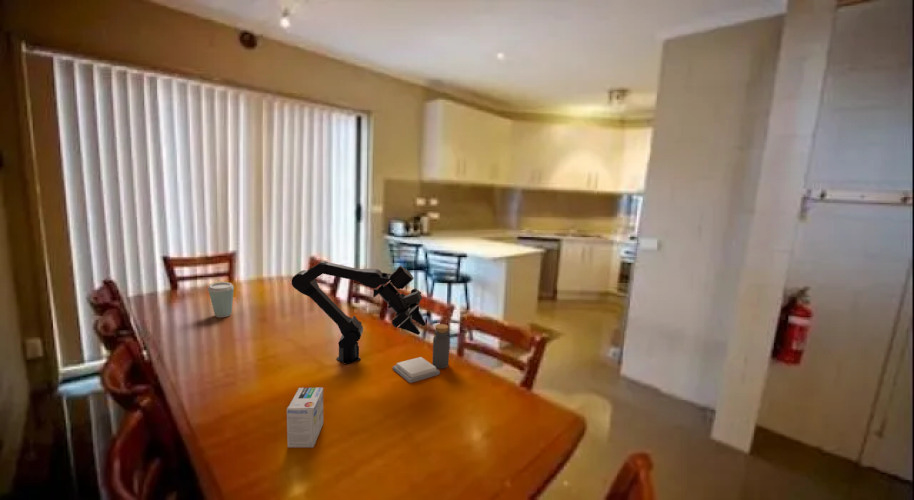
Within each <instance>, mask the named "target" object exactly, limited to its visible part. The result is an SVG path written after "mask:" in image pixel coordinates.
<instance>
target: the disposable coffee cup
mask: <svg viewBox="0 0 914 500" xmlns="http://www.w3.org/2000/svg"><path fill="white" fill-rule="evenodd" d="M234 289H235V287H234V285H233V284H232V283H231V282H227V281H219V282H217V281H216V282H213V283H211V284H209V285H208V287H207V292H208V294H209V298H210V303H211V305H212V309H213V312H214V315H215V317H216V318H227V317H230V316H231V315H232V311H233V301H234Z"/></svg>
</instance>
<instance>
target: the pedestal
mask: <svg viewBox="0 0 914 500" xmlns="http://www.w3.org/2000/svg"><path fill="white" fill-rule="evenodd" d="M392 370H393V371H394V372H396V374H398V375H399V376H401V378H403V379H404V380H405V381H407V382H408V383H410V384H412V383H415V382H418V381H422V380H426V379H428V378H433V377H436V376H439V375H440V374H441V371H440V369H438V368H436V367H435V366H434V365H433V364H432V363H430V361H428V360H426V359H425V358H423V357H422V356H419V357H415V358H410V359H407V360H404V361H400V362H396V364H395V365H393V366H392Z"/></svg>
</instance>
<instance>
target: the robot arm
mask: <svg viewBox="0 0 914 500" xmlns="http://www.w3.org/2000/svg"><path fill="white" fill-rule="evenodd" d="M321 275H326V276H331V277H336V278H342V279H346V280H349V281H350V280H351V281H354V282H358V283H359V284H361V285H362V286H365V287H368V288H371V289H373V295H372V297H373V298H376V297H377V296H378V295H379V296H380V297H381V298H382V300H384V302H385V303H387V304H388V306H387V308H388V309H392V310H393V311H394V312H395V317H394V318H393V319H392V321H391V324H392V326H393V327H394V328H395V329H396V328H398V329H402V330H404V331H407V332H410V333H412V334H415V335H418V336H419V335H420V334H421V331H420V330H419V328H418V327H417V326H416V324H415V323H414V322H413V321H415V322H416V323H417V324H419V325H421V326H423V327H425V326H426V325H427V323H426V320H425V319H424V317H423V315H422V313H421V311H420V309H421V301H422V300H423V296H422V292H421V291H420V290H419V289H418V288H416V287H414V288H412V289H411V290H410V293H408V294H405V293H401V292H400V291H398V290H404V288H406V286H408V285H409V284H410V283H411V282H412V281H413V280H414V279H415V278H414V276H413V274H412V273H410V271H409V269H406V268H404V267H403V266H402V265H399V266H398V267H397V268H396V269H395V271H394V272H392V273H388V272H382V271H381V270H380V269H378V268H355V267H351V266H347V265H342V264H337V263H332V262H328V261H326V260H321V261H320V262H318V263H316V265H314V266H312V267H310V268H308V269H307V270H304V269H303V270H300V271H299V272H297V273H296V274H294V276H293V277H291V285H292V288H294V289H295V290H297V291H298V292H299V293H300V294H303V295H304V296H306V297H308V298H310V299H311V300H312V301H313V302H314V303H315V304H316V305H317V306H318V307H319V308H320V309H321V310H322V311H323V312H324V313H325V314H326V315H327V316H328V317H329V318H330V319H331V320H332V321H333V322H334V323H335V324H336V326H337V327H338V329H339V331H340V333H341V336H340V338H339V340H338V343H337V344H338V356H337V357H336V360H338V361H340V363H342V364H343V365H349V364H351V363H354V362H358V361H360V360H361V357H359V356H360V346H359V341H360V339H361V337H362V334H363V332H364V327H363V325H362V324H363V322H362V321H360V320H359V319H358V318H357V316H355V315H353V316H352V317H350V316H348V315H347V314H346V313H345V312H343V310H341V308H340V307H338V305H337V304H336V303H335V302H334V301H333V300H332V299H331V298H330V297H329V296H328V295H327V293H325V292H324V291H323V290H322V288H320V285H319V283H318V281H317V278H319V276H321Z"/></svg>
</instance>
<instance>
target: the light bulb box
mask: <svg viewBox="0 0 914 500" xmlns="http://www.w3.org/2000/svg"><path fill="white" fill-rule="evenodd" d="M323 425H324V387H298V388H297V390H296V393H295V394H294V397H293V398H292V399H291V401H290V403H289V405H288V406H287V408H286V430H287V431H286V434H287V435H286V438H287V448H314V447H315V445H316V443H317V439H318V437H319V435H320V433H321V431H322V428H323Z"/></svg>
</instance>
